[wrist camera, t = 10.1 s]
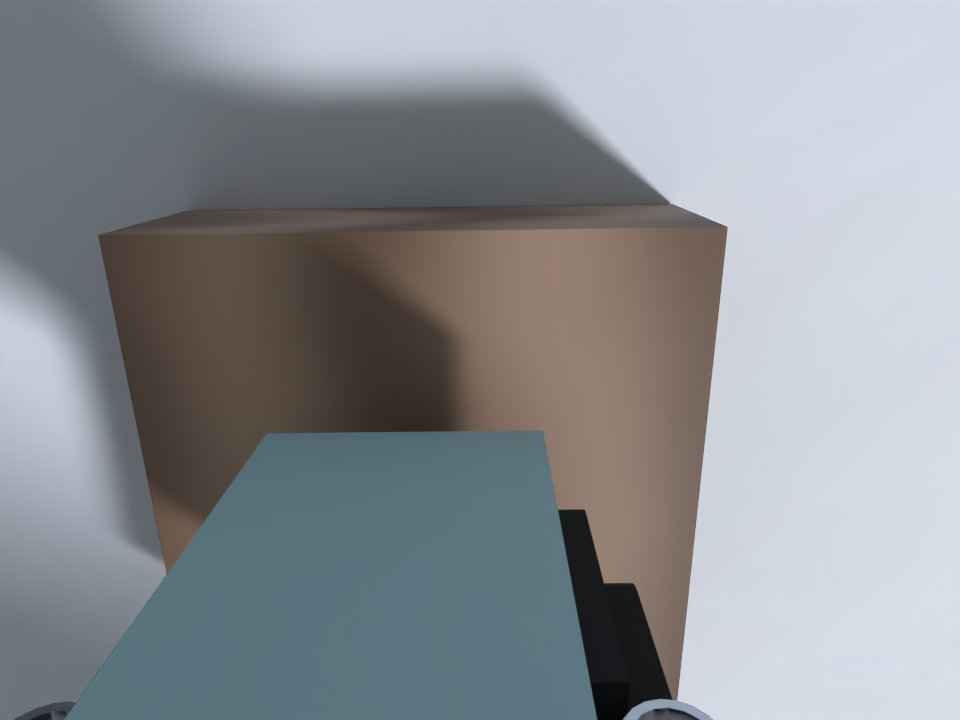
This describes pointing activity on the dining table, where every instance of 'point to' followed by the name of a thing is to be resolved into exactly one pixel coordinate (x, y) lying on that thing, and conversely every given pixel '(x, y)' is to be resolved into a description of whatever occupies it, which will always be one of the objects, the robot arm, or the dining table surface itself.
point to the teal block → (364, 591)
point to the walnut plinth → (436, 355)
